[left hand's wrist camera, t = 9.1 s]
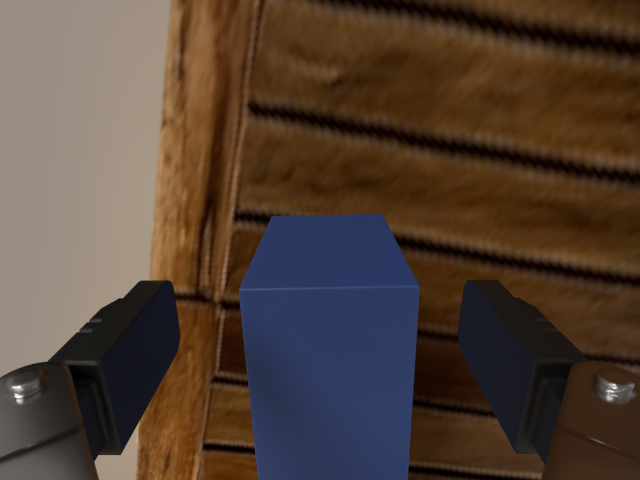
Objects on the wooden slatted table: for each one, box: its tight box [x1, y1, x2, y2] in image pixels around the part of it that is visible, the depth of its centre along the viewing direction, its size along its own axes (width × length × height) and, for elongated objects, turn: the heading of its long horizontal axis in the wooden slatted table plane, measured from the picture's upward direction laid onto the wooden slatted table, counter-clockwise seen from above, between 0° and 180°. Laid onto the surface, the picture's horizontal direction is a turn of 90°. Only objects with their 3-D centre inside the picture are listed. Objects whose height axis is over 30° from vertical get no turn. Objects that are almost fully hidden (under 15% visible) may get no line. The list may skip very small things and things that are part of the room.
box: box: [239, 214, 420, 480], centre depth 22 cm, size 25×6×9 cm, turn 1°
